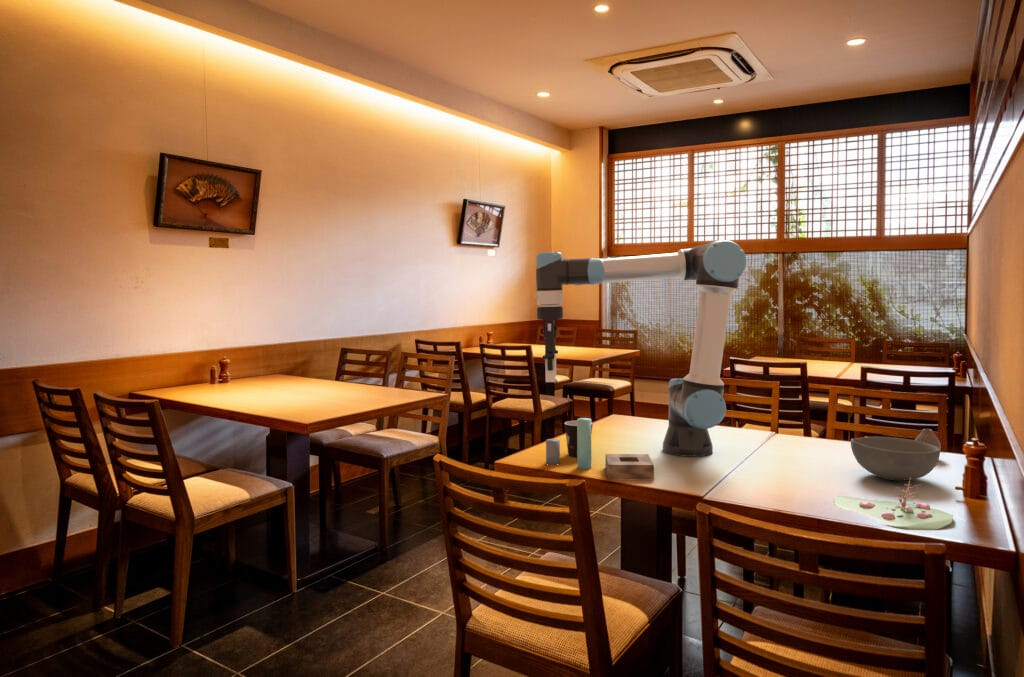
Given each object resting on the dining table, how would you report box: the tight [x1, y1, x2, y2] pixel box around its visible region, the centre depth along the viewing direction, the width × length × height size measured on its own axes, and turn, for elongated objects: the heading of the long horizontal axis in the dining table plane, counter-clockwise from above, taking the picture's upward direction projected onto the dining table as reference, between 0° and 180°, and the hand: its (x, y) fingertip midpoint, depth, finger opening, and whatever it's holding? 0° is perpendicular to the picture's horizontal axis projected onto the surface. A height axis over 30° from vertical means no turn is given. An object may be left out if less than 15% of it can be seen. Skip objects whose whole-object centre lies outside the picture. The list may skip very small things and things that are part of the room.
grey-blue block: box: [545, 438, 561, 466], centre depth 197 cm, size 4×4×7 cm
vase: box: [914, 428, 942, 452], centre depth 198 cm, size 7×7×9 cm
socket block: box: [604, 453, 655, 481], centre depth 186 cm, size 12×12×4 cm
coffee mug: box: [564, 420, 594, 459], centre depth 208 cm, size 12×9×10 cm
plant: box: [833, 477, 954, 531], centre depth 152 cm, size 25×21×9 cm
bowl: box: [850, 436, 941, 482], centre depth 178 cm, size 20×20×10 cm
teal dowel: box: [576, 417, 592, 470], centre depth 192 cm, size 4×4×14 cm
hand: (551, 378), depth 196 cm, fingers open, 13 cm apart
